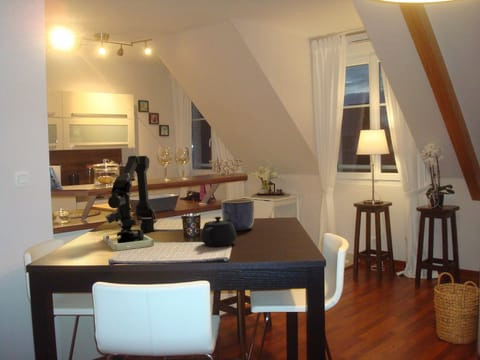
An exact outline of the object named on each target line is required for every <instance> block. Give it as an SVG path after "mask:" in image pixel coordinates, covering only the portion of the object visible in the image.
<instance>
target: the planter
mask: <svg viewBox="0 0 480 360" xmlns="http://www.w3.org/2000/svg"><path fill="white" fill-rule="evenodd" d="M254 203H255V202H254V199H251V198H232V199H224V200H221V218H222V221H227V220H228V219H229V218H231V221H230V222H231V223H232V225H233V226H234V229H235V231H236V232H241V231H242V232H243V231H248V230H249V229H251V227H253V225H254V222H255V205H254Z"/></svg>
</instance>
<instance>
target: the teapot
mask: <svg viewBox="0 0 480 360" xmlns="http://www.w3.org/2000/svg"><path fill="white" fill-rule="evenodd" d="M221 218H222V216H215V217H214V219H215V220H212V221H207V222H204V224H203V227H202V229H201V234H200V240H201V242H202V243H203V244H204V245H206V246H208V247H214V248H216V247H217V248H219V247H227V246H231V245H232V244H233V243H234V242H235V241H236V240H237V237H238V236H237V231H235V229H234V226H233V225H232V223H231V222H230V221H231V218H229V219H228V220H227V221H223V220H221Z"/></svg>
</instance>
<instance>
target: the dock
mask: <svg viewBox="0 0 480 360" xmlns="http://www.w3.org/2000/svg"><path fill="white" fill-rule="evenodd" d="M108 239H110V235H102V240H103V241H104V242H105V243H106V244H108Z"/></svg>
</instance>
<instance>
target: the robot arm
mask: <svg viewBox="0 0 480 360" xmlns="http://www.w3.org/2000/svg"><path fill="white" fill-rule="evenodd" d="M150 161H151V160H150V158H149V157H148V156H147V155H129V156H128V157H127V162H126V164H125V166H124V168H123V170H122V173H121V174H119V175H118V176H116V178H115V180H114V181H113V184H112V188H111V192H110V194H111V196H110V197H109V198H108V201H107V204H108V206H109V207H110V208H112V209H116V210H115V211H113V212H112V213H109V214H107V215H104V217H105V219H106V222H107V223H108V224H111V223H113V222H115V223H117V222H118V223H117V226H118V227H120V230H121V229H128V230H132V227H133V226H137V221H139V230H142V231H143V234H144V233H152V232H155V231H156V230H155V225H154V223H155V222H154V221H156V219H157V214H156V212H155V210H154V207H153V204H152V202H151V201H150V199H149V189H148V188H149V187H148V178H147V176H148V175H147V172H148V170H149V168H150ZM134 173H136V178H137V191H138V204H137V205H135V206H136V207H135V210H136V211H135V214H136V219H134V218H133V217H132V214H131V213H132V212H131V211H132V207H131V196H130V195H132V193H131V189H132V186H133V182H132V179H133V176H134ZM136 220H137V221H136Z"/></svg>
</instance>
